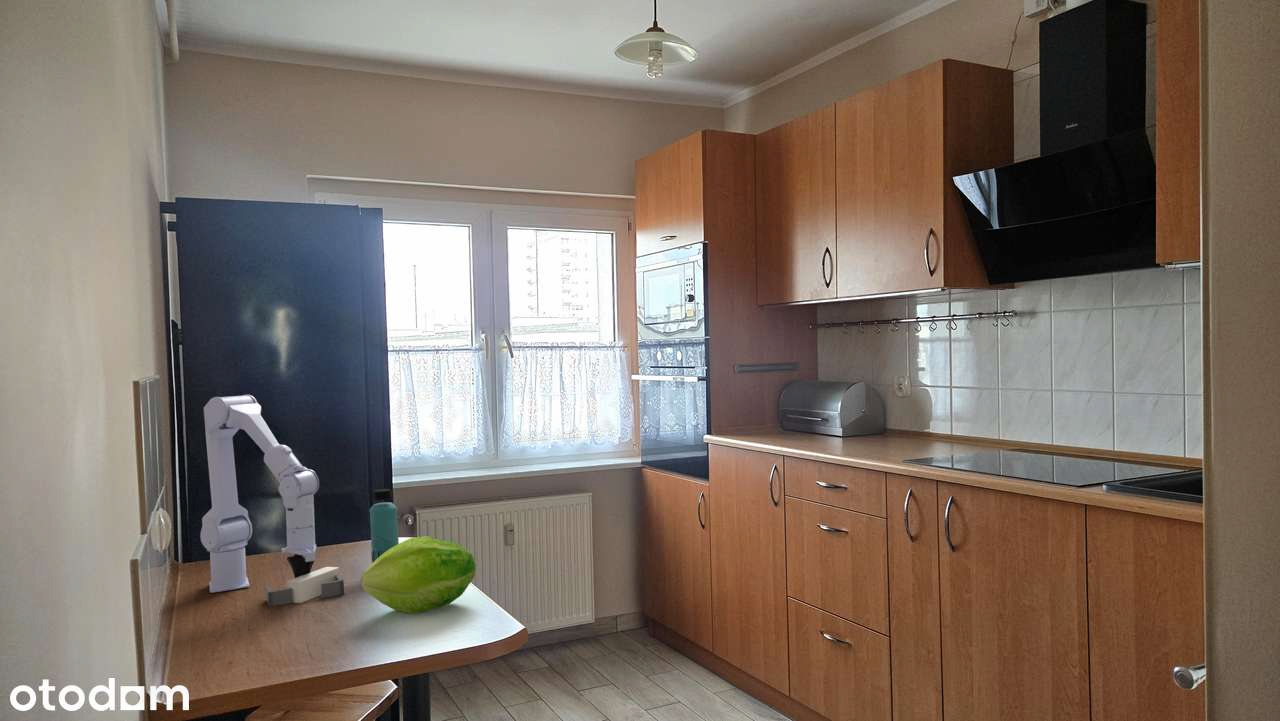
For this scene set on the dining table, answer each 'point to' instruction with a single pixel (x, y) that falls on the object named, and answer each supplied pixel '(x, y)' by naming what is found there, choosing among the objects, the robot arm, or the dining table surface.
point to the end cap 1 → (278, 596)
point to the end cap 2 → (333, 587)
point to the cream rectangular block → (311, 583)
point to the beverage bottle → (383, 524)
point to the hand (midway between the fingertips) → (302, 587)
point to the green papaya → (420, 574)
